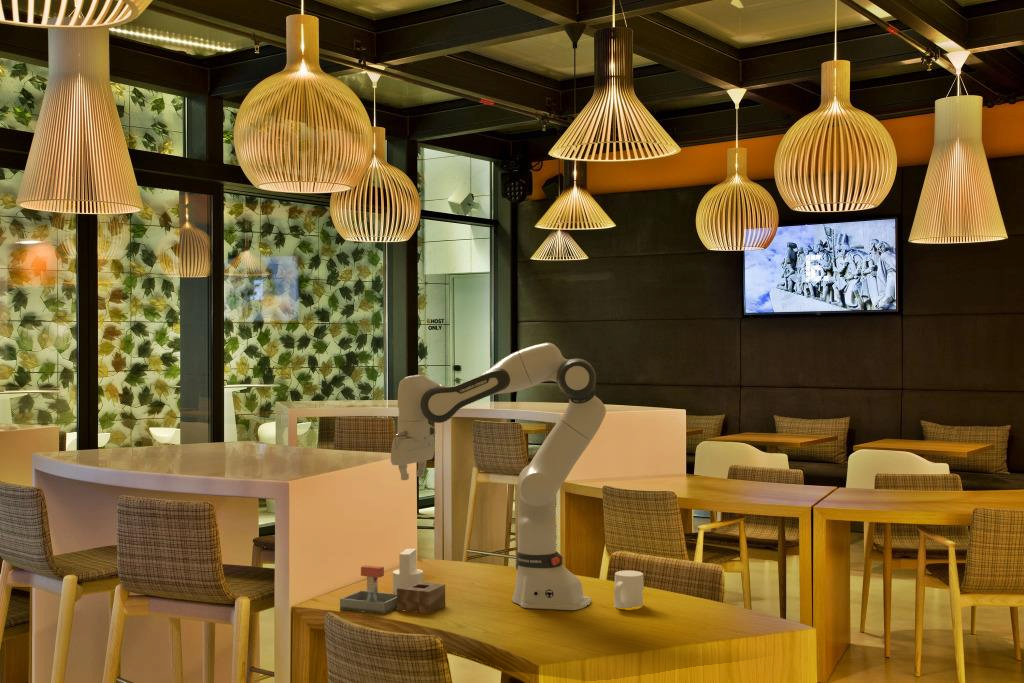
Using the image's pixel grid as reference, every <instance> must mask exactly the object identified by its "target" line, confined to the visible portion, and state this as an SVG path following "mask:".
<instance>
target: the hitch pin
mask: <svg viewBox="0 0 1024 683" xmlns="http://www.w3.org/2000/svg"><path fill="white" fill-rule="evenodd" d="M360 576H362V577H366V591H367V601H371V602H378V592H379V591H378V590H379V589H378V587H379V586H378V585H379V579H378V578H383V577H384V576H385V567H384V566H377V565H362V566H360Z"/></svg>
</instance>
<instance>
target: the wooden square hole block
mask: <svg viewBox="0 0 1024 683" xmlns="http://www.w3.org/2000/svg"><path fill="white" fill-rule="evenodd" d="M444 605H445V606H446V584H445V583H435V582H425V581H423V582H417V581H413V582H411V583H409V584H406V585H404V586H402V587H399V588H397V609H396V611H400V610H405V611H404V612H409V611H417V612H416V613H418V612H426V613H425V614H427V613H429V614H431V613H433V612H435V611H437V610H439V609H441V608H443V607H445V606H444ZM442 606H443V607H442ZM440 607H441V608H440ZM438 608H439V609H438ZM436 609H437V610H436ZM434 610H435V611H434ZM432 611H433V612H432ZM430 612H431V613H430Z"/></svg>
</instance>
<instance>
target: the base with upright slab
mask: <svg viewBox="0 0 1024 683" xmlns="http://www.w3.org/2000/svg"><path fill="white" fill-rule="evenodd" d="M398 555H399V558H398V559H399V563H398V565H399V566H398V569H395V570H392V593H393V592H394V593H396V594H397V588H399V587H402V586H404V585H406V584H409V583H411V582H413V581H417V582H424V570H422V569H420V568H417V548H405V549H404V550H403V551H402V552H400V553H399V554H398ZM394 593H393V594H394Z"/></svg>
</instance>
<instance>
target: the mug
mask: <svg viewBox="0 0 1024 683" xmlns="http://www.w3.org/2000/svg"><path fill="white" fill-rule="evenodd" d="M644 584H645V583H644V573H643V572H642V571H638V570H629V569H628V570H627V569H626V570H619V571H618V570H617V571H616V572H615V573H614V589H613V590H614V592H613V593H614V594H613V603H614V605H613V606H614V608H615V607H617V608H632V607H638V606H641V605H643V606H644V594H643V592H644V590H645V588H644V586H645V585H644Z"/></svg>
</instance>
